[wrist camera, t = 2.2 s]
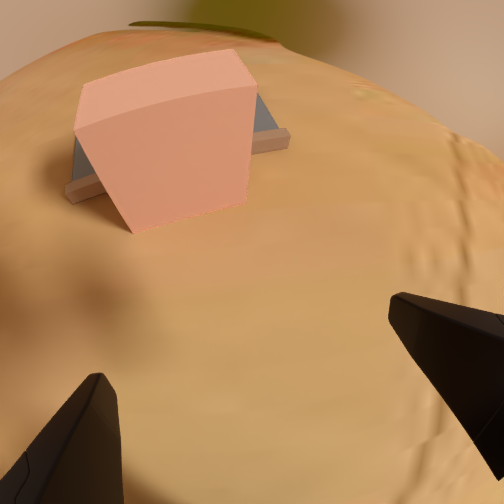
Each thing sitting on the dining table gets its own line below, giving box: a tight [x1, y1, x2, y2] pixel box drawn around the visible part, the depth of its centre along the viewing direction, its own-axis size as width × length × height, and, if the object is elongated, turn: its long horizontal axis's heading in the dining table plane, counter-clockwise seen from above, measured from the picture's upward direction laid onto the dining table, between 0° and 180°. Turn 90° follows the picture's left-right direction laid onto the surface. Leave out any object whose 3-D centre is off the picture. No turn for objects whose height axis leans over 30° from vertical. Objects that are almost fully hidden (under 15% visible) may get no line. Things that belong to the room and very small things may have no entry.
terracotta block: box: [74, 49, 258, 234], centre depth 19 cm, size 10×5×12 cm, turn 108°
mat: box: [65, 93, 290, 204], centre depth 27 cm, size 22×16×2 cm
